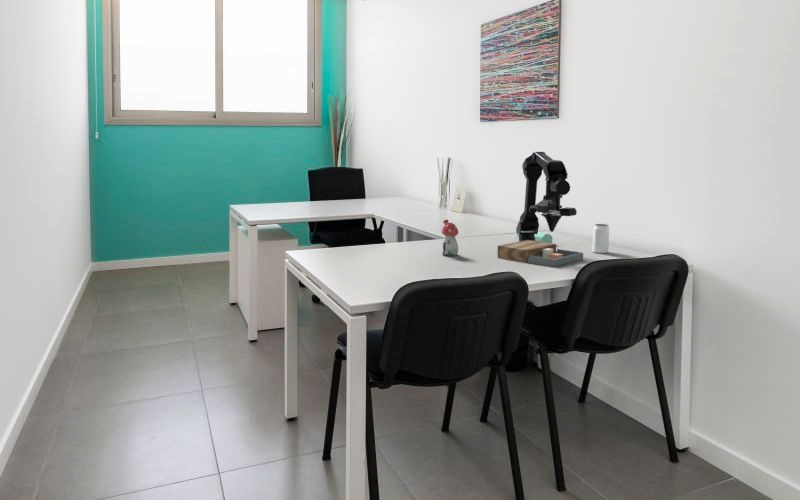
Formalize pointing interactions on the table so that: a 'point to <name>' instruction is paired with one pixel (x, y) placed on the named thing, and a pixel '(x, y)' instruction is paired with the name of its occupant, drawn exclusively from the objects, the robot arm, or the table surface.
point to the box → (566, 259)
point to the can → (600, 238)
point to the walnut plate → (523, 250)
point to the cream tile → (547, 252)
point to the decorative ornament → (450, 239)
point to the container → (542, 237)
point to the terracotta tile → (555, 256)
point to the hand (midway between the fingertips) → (551, 231)
